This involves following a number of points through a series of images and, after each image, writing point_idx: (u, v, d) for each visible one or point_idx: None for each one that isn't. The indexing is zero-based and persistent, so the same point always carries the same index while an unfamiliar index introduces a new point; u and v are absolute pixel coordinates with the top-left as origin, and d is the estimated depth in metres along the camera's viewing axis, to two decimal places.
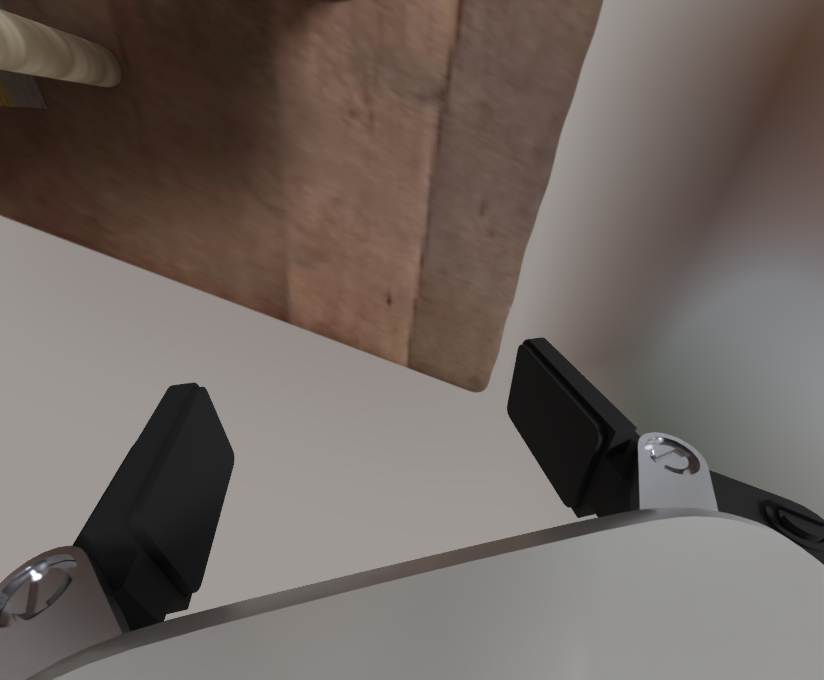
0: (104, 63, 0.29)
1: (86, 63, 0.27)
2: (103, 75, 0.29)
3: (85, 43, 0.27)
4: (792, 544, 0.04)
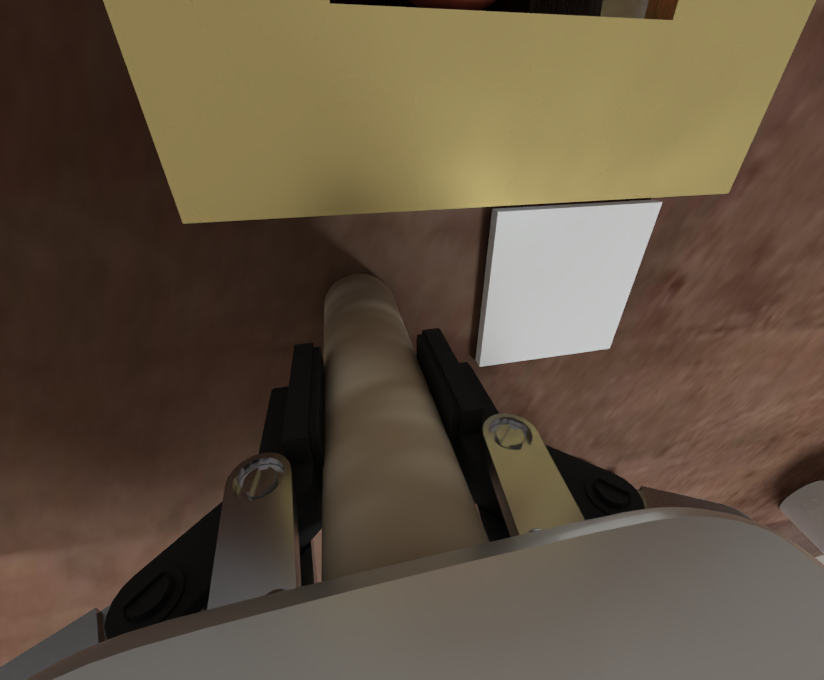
0: None
1: None
2: None
3: None
4: (792, 544, 0.04)
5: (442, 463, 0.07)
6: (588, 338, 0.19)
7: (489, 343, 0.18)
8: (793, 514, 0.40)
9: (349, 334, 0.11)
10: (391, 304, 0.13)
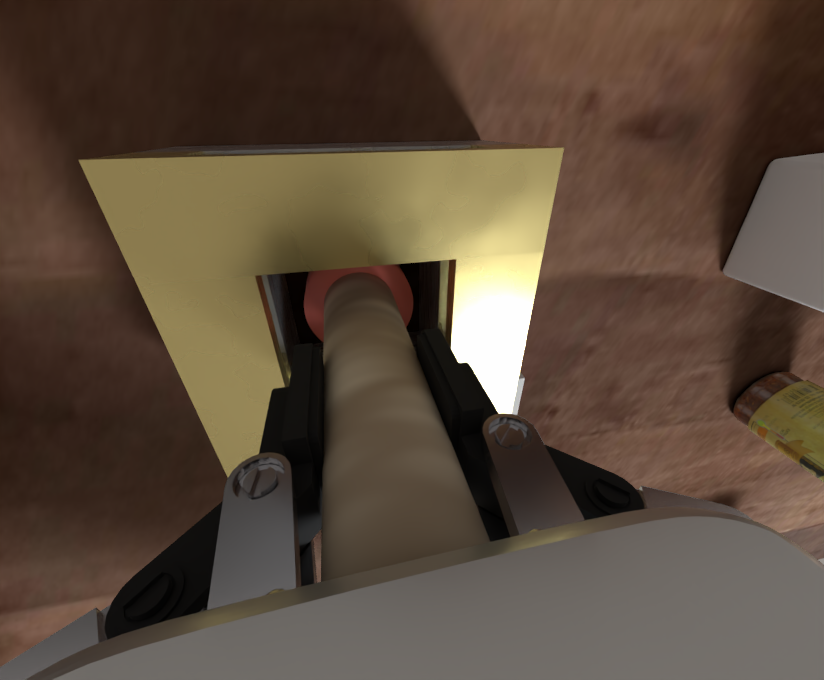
0: None
1: None
2: None
3: None
4: (792, 544, 0.04)
5: (442, 462, 0.07)
6: None
7: None
8: None
9: (349, 333, 0.11)
10: (391, 303, 0.13)
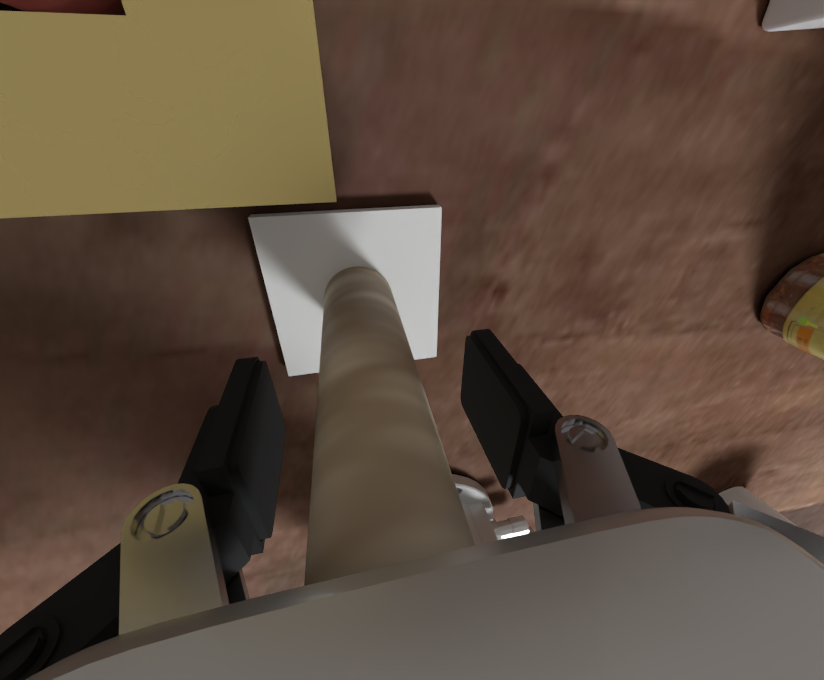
0: None
1: None
2: None
3: None
4: (792, 544, 0.04)
5: (422, 437, 0.07)
6: None
7: (291, 352, 0.17)
8: None
9: (345, 322, 0.11)
10: (387, 296, 0.14)
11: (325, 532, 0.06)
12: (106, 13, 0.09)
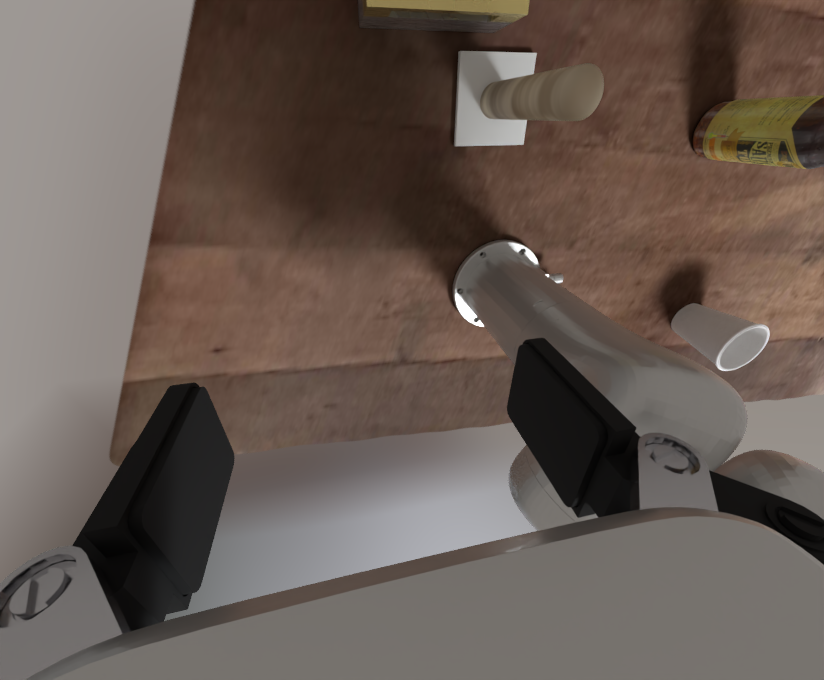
0: None
1: (512, 119, 0.32)
2: (496, 116, 0.34)
3: None
4: (792, 544, 0.04)
5: None
6: (510, 135, 0.38)
7: (460, 130, 0.36)
8: (677, 327, 0.58)
9: (512, 78, 0.31)
10: None
11: (545, 76, 0.25)
12: None
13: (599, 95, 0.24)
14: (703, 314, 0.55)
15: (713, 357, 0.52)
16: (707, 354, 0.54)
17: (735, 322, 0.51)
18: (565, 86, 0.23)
